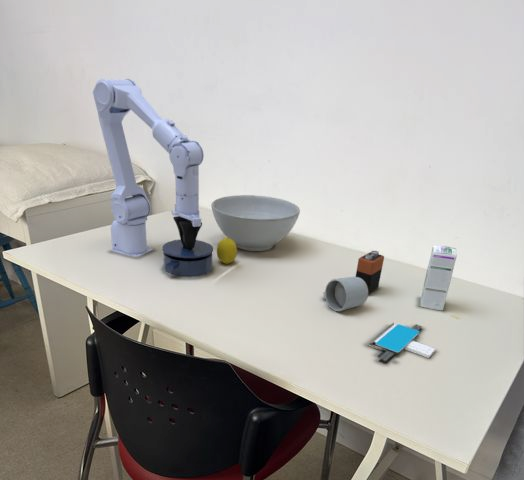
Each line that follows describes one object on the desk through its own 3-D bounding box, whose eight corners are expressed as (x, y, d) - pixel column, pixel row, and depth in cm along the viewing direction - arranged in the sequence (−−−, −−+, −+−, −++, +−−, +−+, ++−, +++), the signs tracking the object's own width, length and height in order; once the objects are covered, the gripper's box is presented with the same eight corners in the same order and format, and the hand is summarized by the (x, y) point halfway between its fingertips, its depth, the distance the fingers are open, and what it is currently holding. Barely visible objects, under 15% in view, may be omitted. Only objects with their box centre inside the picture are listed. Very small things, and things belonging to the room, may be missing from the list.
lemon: (237, 262, 143) (238, 235, 139) (234, 269, 138) (235, 241, 134) (218, 260, 143) (219, 233, 139) (215, 267, 138) (215, 239, 134)
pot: (148, 275, 130) (147, 257, 128) (185, 255, 145) (185, 239, 142) (190, 286, 126) (190, 268, 124) (224, 264, 141) (225, 247, 138)
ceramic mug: (368, 309, 121) (373, 279, 117) (343, 316, 117) (348, 286, 113) (338, 293, 128) (342, 265, 125) (314, 300, 124) (317, 270, 120)
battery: (378, 288, 133) (385, 252, 128) (367, 295, 128) (374, 258, 123) (364, 283, 135) (370, 248, 130) (352, 290, 130) (358, 254, 125)
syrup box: (443, 311, 123) (458, 255, 116) (418, 306, 124) (432, 251, 117) (442, 302, 128) (457, 247, 120) (419, 298, 129) (432, 244, 122)
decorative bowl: (245, 226, 173) (247, 190, 166) (311, 245, 160) (316, 207, 154) (192, 244, 153) (192, 204, 147) (263, 267, 141) (266, 224, 134)
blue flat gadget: (413, 374, 97) (415, 367, 96) (358, 353, 103) (360, 346, 102) (447, 337, 111) (449, 331, 110) (397, 320, 117) (398, 314, 116)
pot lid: (154, 256, 128) (154, 239, 126) (172, 240, 139) (171, 224, 137) (205, 263, 126) (205, 245, 124) (218, 246, 138) (218, 229, 135)
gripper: (163, 187, 129) (164, 238, 136) (181, 201, 118) (182, 256, 125) (188, 186, 132) (189, 236, 139) (209, 200, 121) (208, 253, 128)
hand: (187, 245), depth 132 cm, fingers closed on pot lid, 2 cm apart
